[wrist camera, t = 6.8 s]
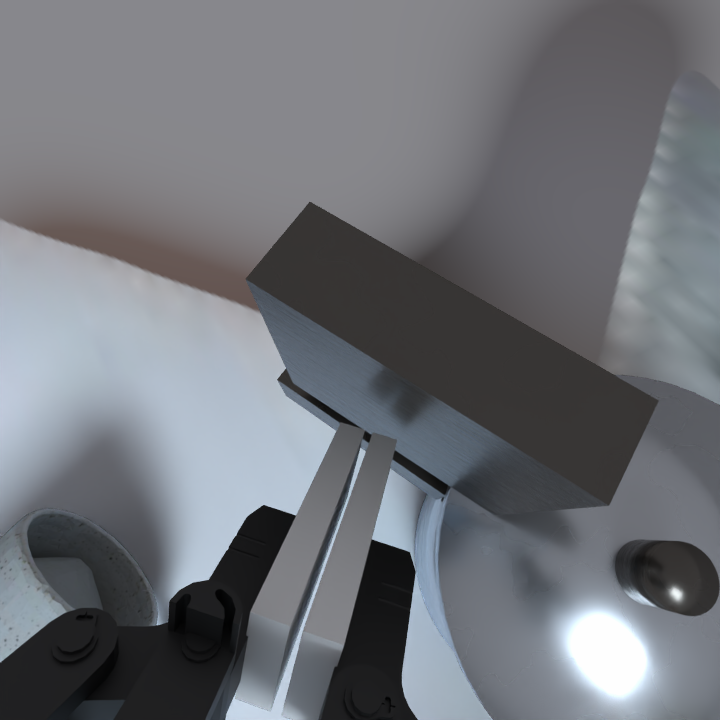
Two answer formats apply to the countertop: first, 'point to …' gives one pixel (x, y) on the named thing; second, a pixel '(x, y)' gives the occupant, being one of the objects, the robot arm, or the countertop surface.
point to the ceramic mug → (66, 576)
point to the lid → (522, 480)
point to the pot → (413, 474)
